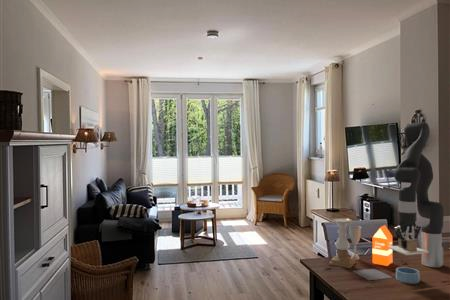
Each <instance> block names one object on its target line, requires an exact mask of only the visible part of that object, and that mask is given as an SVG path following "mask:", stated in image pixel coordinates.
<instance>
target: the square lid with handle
mask: <svg viewBox="0 0 450 300" xmlns="http://www.w3.org/2000/svg"><path fill="white" fill-rule="evenodd" d="M403 238H404V236H403ZM397 239H398V238H397ZM397 241H398V245H392V246H389V247H387V248H389V249H392V250H393V251H394V252H398V253H400V254H403V255H405V256H412V255H420V254H421V255H422V253H428V251H426V250H423V249H422V248H419V247H418V241H417V240H415V239H414V240H412V239H409V238H408V237H407V239H406V241H407V248H406V249H404V248H402V247H401V239H398V240H397Z"/></svg>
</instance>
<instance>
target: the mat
mask: <svg viewBox="0 0 450 300" xmlns="http://www.w3.org/2000/svg"><path fill="white" fill-rule="evenodd" d="M352 272H353V273H355V274H356V275H358V276H360V277H362V278H364V280H368V281H375V280H382V279H390V278H393V276H390V275H389V274H387V273H385V272H382V271H380V270H378V269H377V268H365V269H359V270H352Z"/></svg>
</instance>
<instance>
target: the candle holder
mask: <svg viewBox="0 0 450 300" xmlns="http://www.w3.org/2000/svg"><path fill="white" fill-rule="evenodd" d="M331 221H332V222H333V223H336V225H337V226H338V230H337V234H338V238H337V239H336V241H335V243H334V245H335V247H336V249H337V250H336V251H335V252H336V255H334V256H333V257H332V258H331V260H330V261H329V266H336V267H341V268H346V269H352V268H353V266H354V265H355V264H356V261H357V260H354V258H352V256H349V250H348V249H350V248H351V245H350V242H349V241H348V239H347V234H348V231H347V226H349V224H352V223H353V219H351V218H347V217H346V218H345V217H337V218H336V217H334V218H332V220H331Z"/></svg>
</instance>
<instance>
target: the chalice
mask: <svg viewBox="0 0 450 300" xmlns="http://www.w3.org/2000/svg"><path fill="white" fill-rule="evenodd" d="M348 228H349V229H348V230H349V234H348V235H349V239H350V240H351V242H352V244H353V254H351V257H352V258H354V260H355V261H359V260H361V259H360V256H359V255H358V254H357V252H358V251H357V244H358V243H359V242H360V239H361V236H362V235H361V233H362V230H361V229H362V226H361V225H354V224H353V225H348Z"/></svg>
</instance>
